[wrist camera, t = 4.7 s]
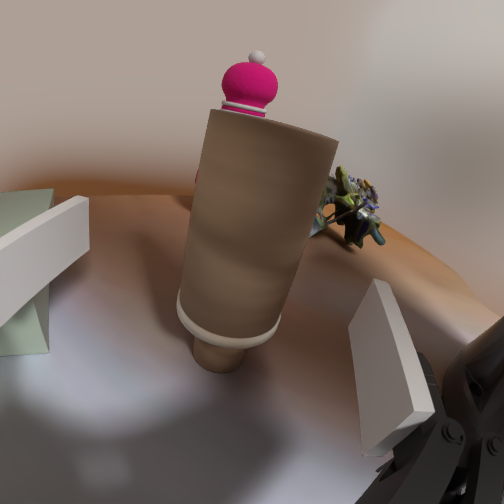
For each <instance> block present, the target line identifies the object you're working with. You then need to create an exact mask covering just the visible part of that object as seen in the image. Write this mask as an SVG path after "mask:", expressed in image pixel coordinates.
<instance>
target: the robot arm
mask: <svg viewBox="0 0 504 504" xmlns="http://www.w3.org/2000/svg"><path fill="white" fill-rule="evenodd" d="M88 250H90V246H89V198H86V197H82V196H79V195H77V196H75V197H73V198H71V199H69V200H67V201H65V202H63V203H61V204H59V205H57V206H55V207H53V208H51V209H49V210H47V211H46V212H44V213H42V214H40V215H38V216H36V217H35V218H33V219H31V220H29V221H27V222H26V223H24V224H22V225H21V226H19V227H17V228H15V229H14V230H12V231H10V232H9V233H7V234H5V235H4V236H2V237H1V238H0V327H1V326H3V325H4V324H5V323H6V322H7V321H8V320H9V319H10V318H11V317H12V316H13V315H14V314H15V313H16V312H17V311H18V310H19V309H20V308H21V307H22V306H23V305H25V304H26V303H27V302H28V301H29V300H30V299H31V298H32V297H33V296H34V295H36V294H37V293H38V292H39V291H40V290H41V289H42V288H44V287H45V286H46V285H47V284H48V283H49V282H50V281H52V280H53V279H54V278H55V277H56V276H58V275H59V274H60V273H61V272H62V271H64V270H65V269H66V268H67V267H68V266H70V265H71V264H72V263H73V262H75V261H76V260H77V259H78V258H80V257H81V256H82V255H83V254H85V253H86V252H87V251H88ZM348 331H349V337H350V343H351V350H352V357H353V364H354V372H355V380H356V388H357V397H358V407H359V417H360V429H361V442H362V456H370V457H383V456H384V455H385V454H387V453H388V452H389V451H390V450H392V449H393V453H394V457H393V458H392V459H391V460H389V461H388V462H387V463H385V464H384V465H382V466H381V467H379V468H378V469H377V470H376V472H379V471H381V470H382V469H383V470H382V471H381V472H380V474H379V475H378V476H377V478H376V479H375V480H374V481H373V483H372V484H371V485H370V486H369V487H368V489H367V490H366V491H365V492H364V493H363V495H362V496H361V497H360V498H359V499H358V500H357V502H356V503H355V504H501V501H502V493H503V487H504V316H503V317H502V318H501V319H500V320H499V321H497V322H496V323H495V324H494V325H492V326H491V327H490V328H489V329H488V330H486V331H485V332H484V333H482V334H481V335H480V336H479V337H477V338H476V339H475V340H473V341H472V342H471V343H469V344H468V345H467V346H466V347H465V348H464V349H463V350H462V351H461V353H460V354H459V355H458V357H457V358H456V359H455V360H454V362H453V363H452V364H451V365H450V367H449V368H448V370H447V372H446V375H445V379H444V385H443V397H444V405H445V408H444V405H443V402H442V399H441V396H440V393H439V389H438V386H436V381H435V378H434V377H433V372H432V369H431V366H430V364H429V362H428V361H427V360H426V358H425V357H424V356H423V354H422V353H418V352H416V350H415V347H414V345H413V342H412V339H411V337H410V334H409V331H408V329H407V326H406V324H405V321H404V319H403V316H402V314H401V311H400V309H399V306H398V304H397V302H396V299H395V297H394V294H393V292H392V290H391V288H390V285H389V283H388V282H385V281H381V280H378V279H374V278H373V280H372V282H371V284H370V286H369V288H368V290H367V292H366V294H365V296H364V298H363V300H362V301H361V303H360V305H359V307H358V309H357V311H356V313H355V315H354V317H353V318H352V320H351V322H350V324H349V326H348ZM445 410H446V412H445ZM446 414H447V415H446ZM465 486H466V490H465V493H464V494H462V495H461V489H462V488H463V487H465Z"/></svg>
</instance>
